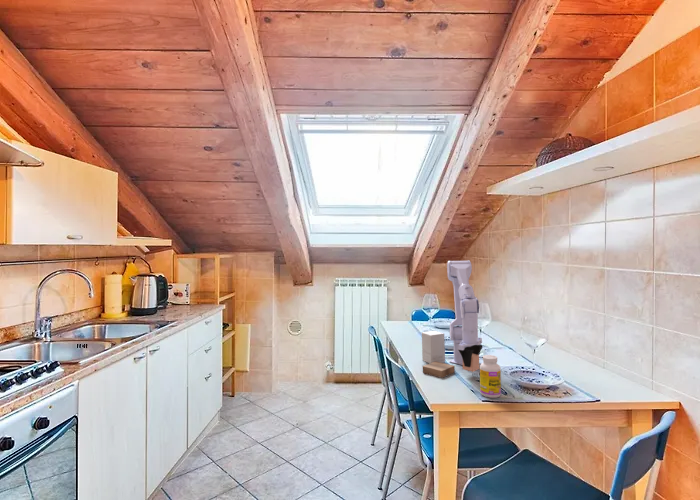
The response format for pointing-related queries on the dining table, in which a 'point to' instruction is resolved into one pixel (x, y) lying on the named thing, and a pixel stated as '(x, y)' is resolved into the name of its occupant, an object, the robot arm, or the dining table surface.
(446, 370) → the walnut box
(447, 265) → the robot arm
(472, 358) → the terracotta block
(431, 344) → the supplement box
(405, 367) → the dining table surface
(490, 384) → the supplement bottle
